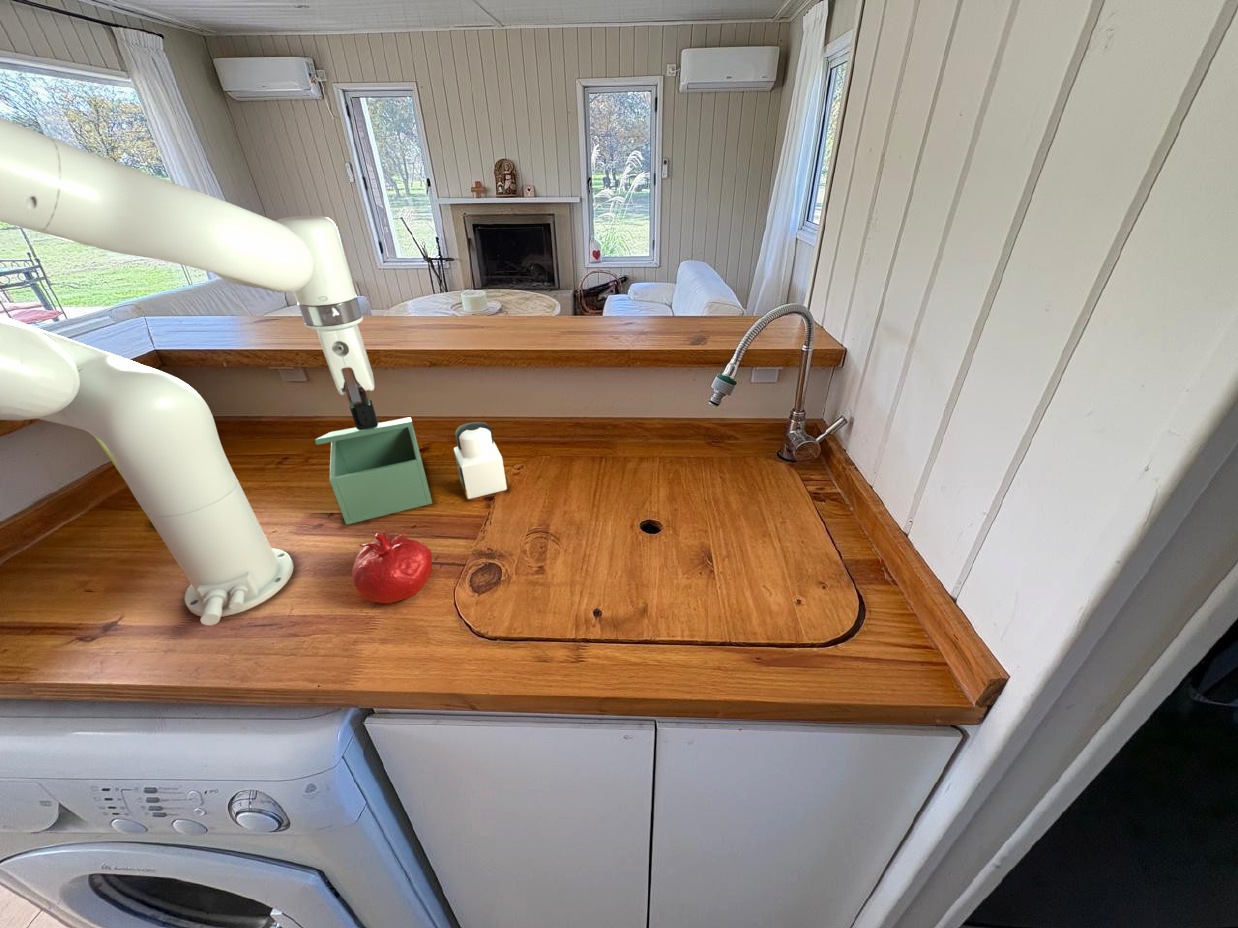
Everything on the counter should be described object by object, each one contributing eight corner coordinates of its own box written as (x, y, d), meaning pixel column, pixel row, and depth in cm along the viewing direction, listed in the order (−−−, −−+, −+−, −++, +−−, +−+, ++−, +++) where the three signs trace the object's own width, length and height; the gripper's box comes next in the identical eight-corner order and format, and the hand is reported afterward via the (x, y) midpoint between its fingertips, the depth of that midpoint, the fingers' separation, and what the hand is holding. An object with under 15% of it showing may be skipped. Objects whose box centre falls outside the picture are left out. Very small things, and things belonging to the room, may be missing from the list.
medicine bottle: (460, 480, 92) (447, 422, 86) (498, 471, 95) (489, 414, 88) (467, 500, 87) (454, 440, 80) (507, 490, 89) (498, 431, 83)
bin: (432, 503, 86) (421, 460, 81) (346, 525, 81) (329, 480, 76) (421, 461, 98) (411, 421, 93) (345, 477, 93) (331, 436, 88)
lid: (412, 426, 78) (411, 421, 78) (316, 445, 73) (314, 439, 73) (411, 421, 93) (410, 417, 93) (331, 436, 88) (329, 432, 88)
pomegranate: (424, 612, 65) (408, 560, 60) (348, 614, 65) (325, 561, 60) (445, 560, 74) (432, 510, 69) (377, 561, 74) (360, 511, 69)
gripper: (361, 322, 67) (396, 441, 76) (359, 297, 78) (389, 403, 88) (298, 330, 64) (342, 452, 74) (305, 303, 75) (342, 412, 85)
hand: (367, 425), depth 81 cm, fingers closed
